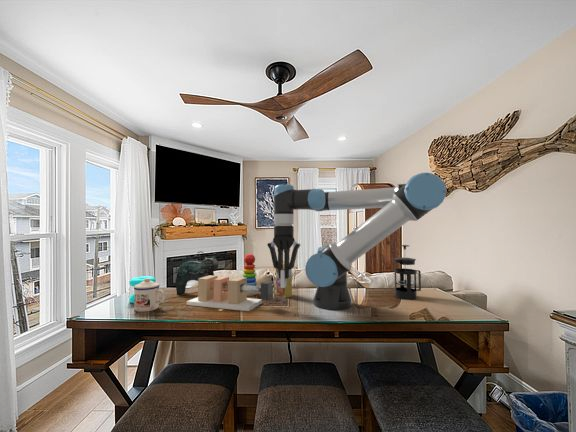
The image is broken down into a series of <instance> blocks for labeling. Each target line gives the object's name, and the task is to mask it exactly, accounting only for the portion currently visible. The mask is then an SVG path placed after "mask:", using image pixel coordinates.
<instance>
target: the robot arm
mask: <svg viewBox="0 0 576 432" xmlns="http://www.w3.org/2000/svg"><path fill="white" fill-rule="evenodd" d="M294 187H295V186H293V185H292V184H277V185H275V186H274V192H273V210H274V211H273V225H274V226H273V239H272V241H271V242H269V243H267V247H268V248H269V252H270V256H271V262H272V265H273V268H274V269H275V268H277V269H278V277H279V278H281V288H285V287H287V279H288V278H289V269H292V270H293V269H294V267H295V264H296V259H297V256H298V255H297V254H298V251H299V248H300V247H301V243H298V242H297V241H296V240H295V237H294V230H295V229H294V226H293V225H294V215H295V214H294V211H295V210H297V211H298V210H307V211H308V210H309V211H315V212H325V211H339V210H340V211H341V210H360V209H362V210H364V209H366V210H367V209H378V211H377V212H376V213H374V214H373V215H371V216H370V217H369V218H368V219H366V220H365V221H364V222H363V223H361V224H360V225H359V226H357V227H356V228H354V229H353V230H352V231H351V232H350V233H348V234H347V235H345V237H343V238H342V239H341V240H339V241H338V242H337V243H336V242H335V243H333V242H330V243H328V244H327V245H326V246H320V247H318V248H317V252H316V253H315V254H313V255H311V256H310V257H309V258H308V259H307V261H306V263H305V270H304V271H305V275H306V277H307V279H308V280H309V282H310V283H312V284H313V285H314V286H316V289H315V293H314V296H313V305H314V306H315V307H317V308H321V309H324V310H325V309H326V310H345V309H348V308H350V307H352V306H353V305H352V303H353V302H352V297H351V294H350V291H349V288H348V281H347V280H348V279H347V277H348V274H347V273H348V272H350V270H352V265H353V263H354V262H356V260H358V259H359V258H361V257H362V256H363V255H365V254H366V253H368V252H369V251H370V250H371V249H373V248H374V247H376V246H377V245H378V244H380V243H381V242H382V241H383V240H385V239H386V238H387V237H389V236H390V235H391V234H393V233H395V232H396V231H398V229H400V228H401V227H403V226H404V225H405V224H406V223H408V222H409V221H413V222H417V221H419V220H420V219H422V218H423V217H424V216H426V215H427V214H429V213H430V212H431V211H433V209H436V208H438V207H439V206H440V205H441V204H443V202H444V200H445V199H446V195H447V188H446V184H445V182H444V180H443V179H442V178H441V177H440V176H438V175H436V174H435V173H431V172H420V173H417V174H415V175H412V176H411V177H410V178H409V180H408V181H406V183H399V184H396V185H395V186H394V187H383V188H382V187H381V188H369V189H368V188H367V189H366V188H365V189H353V190H351V189H350V190H339V191H337V190H336V191H324V189H322V188H311V189H310V188H309V189H307V188H306V189H295V188H294ZM275 247H276V248H277V250H276V248H275ZM291 247H293V249H292V253H291V255H290V252H291ZM276 251H277V252H276ZM283 261H284V267H283ZM289 263H290V264H289ZM283 268H284V269H283Z"/></svg>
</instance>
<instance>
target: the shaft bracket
mask: <svg viewBox="0 0 576 432" xmlns="http://www.w3.org/2000/svg"><path fill="white" fill-rule="evenodd" d="M222 284H228V290H222ZM240 285H247V278H245V277H243V276H238V277H237V276H236V277H235V278H231V279H230V276H219V277H218V275H214V276H212V275H209V276H205V277H202V278H198V281H197V294H198V295H197V297H193V298H190V299H189V300H187V301H186V305H187V306H196V307H204V308H212V309H213V308H215V309H222V310H224V309H225V310H234V311H243V312H250V311H252V310H253V309H255V308H257V307H258V306H260V305H261V304H263V299H261V298H260V299H259V298H249V297H248V296H247V292H246V291H240Z"/></svg>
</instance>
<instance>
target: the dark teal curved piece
mask: <svg viewBox="0 0 576 432" xmlns="http://www.w3.org/2000/svg"><path fill="white" fill-rule="evenodd" d="M200 253H202V254H203V255H205V253H204V252H203V251H198V252H197V255H199V254H200ZM188 260H190V261H188ZM185 261H186V262H185ZM218 268H219V261H218V259H217V257H216V255H213V256H212V257H207V256H204V257H203V258H202V259H201V260H198V259H194V258H191V257H189V258H185V259H183V260H182V261H181V262H180V264H179V267H178V269H177V272H176V278H175V290H176V295H184V294H185V293H186V288H187V285H188V282H190V281H197V282H198V278H202V277H205V276H209V275H212V276H215V273H214V271H216V270H217V269H218Z"/></svg>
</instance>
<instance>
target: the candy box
mask: <svg viewBox="0 0 576 432" xmlns="http://www.w3.org/2000/svg"><path fill="white" fill-rule="evenodd" d="M289 264H290V262H289ZM283 267H284V260H283ZM274 269H275V270H274V271H275V272H274V273H275V294H276V295H277V296H280V297H282V298H283V299H284V298H285V299H287V298H292V297H293V280H292V279H293V275H292V271H293V268H292V269H289V278H288V279H287V287H285V288H281V278H279V277H278V269H277V268H274ZM283 269H284V268H283Z"/></svg>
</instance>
